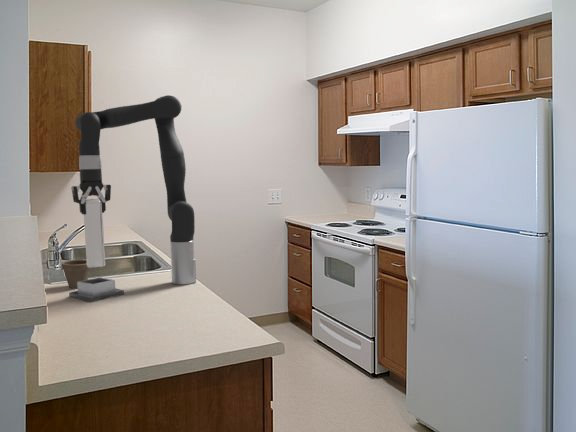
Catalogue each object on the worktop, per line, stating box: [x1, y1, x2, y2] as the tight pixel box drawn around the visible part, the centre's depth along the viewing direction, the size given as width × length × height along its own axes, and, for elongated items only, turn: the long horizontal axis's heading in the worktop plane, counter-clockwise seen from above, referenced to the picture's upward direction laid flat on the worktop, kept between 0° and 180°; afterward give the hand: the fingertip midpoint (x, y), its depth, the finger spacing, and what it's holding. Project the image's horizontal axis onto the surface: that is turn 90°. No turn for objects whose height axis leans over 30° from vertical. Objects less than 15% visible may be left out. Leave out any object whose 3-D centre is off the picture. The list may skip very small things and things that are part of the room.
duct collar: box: [68, 276, 125, 303], centre depth 201 cm, size 14×14×6 cm
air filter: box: [83, 198, 106, 269], centre depth 199 cm, size 6×6×25 cm
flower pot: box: [61, 259, 91, 289], centre depth 216 cm, size 12×11×10 cm
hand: (93, 213), depth 198 cm, fingers closed on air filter, 6 cm apart
